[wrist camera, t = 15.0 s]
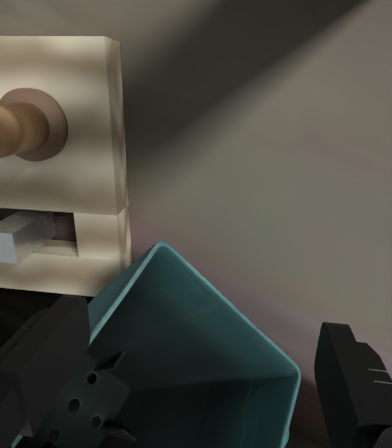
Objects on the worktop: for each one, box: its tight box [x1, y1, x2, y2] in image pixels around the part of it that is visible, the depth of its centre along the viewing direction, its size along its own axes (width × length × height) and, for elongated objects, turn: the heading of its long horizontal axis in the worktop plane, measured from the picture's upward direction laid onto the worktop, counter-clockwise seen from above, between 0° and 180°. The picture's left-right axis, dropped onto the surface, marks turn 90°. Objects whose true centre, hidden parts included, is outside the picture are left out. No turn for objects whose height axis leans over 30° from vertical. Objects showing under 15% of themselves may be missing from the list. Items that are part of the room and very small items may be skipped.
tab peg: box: [0, 209, 56, 264], centre depth 40 cm, size 4×4×8 cm
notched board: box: [0, 36, 132, 297], centre depth 39 cm, size 28×16×4 cm, turn 179°
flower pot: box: [11, 241, 301, 448], centre depth 36 cm, size 20×20×28 cm
